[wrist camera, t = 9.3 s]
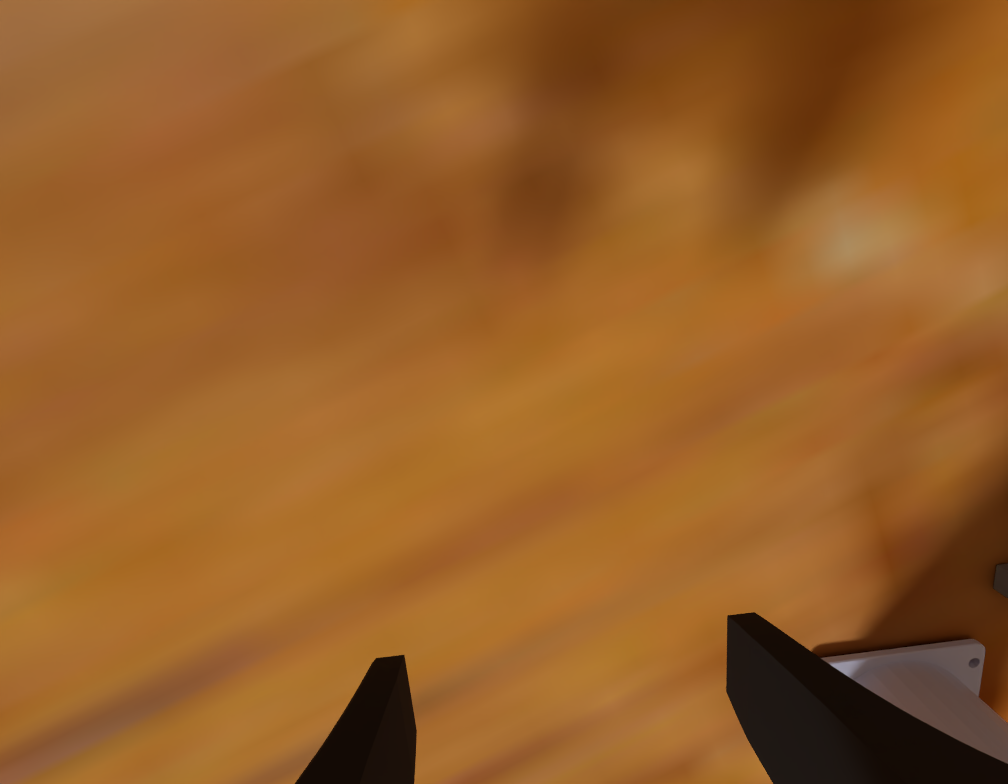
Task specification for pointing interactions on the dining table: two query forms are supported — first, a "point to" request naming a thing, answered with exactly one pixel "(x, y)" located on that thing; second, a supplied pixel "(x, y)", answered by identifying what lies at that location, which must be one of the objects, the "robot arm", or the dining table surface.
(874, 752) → the robot arm
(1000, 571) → the gray square frame
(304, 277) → the dining table surface
